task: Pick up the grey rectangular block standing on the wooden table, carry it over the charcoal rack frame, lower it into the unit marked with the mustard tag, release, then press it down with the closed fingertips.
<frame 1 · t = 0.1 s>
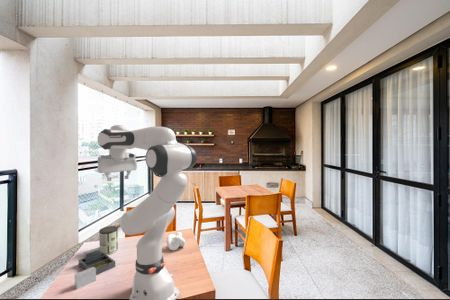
hand: (118, 179, 115), 48 cm above the table, fingers open, 8 cm apart
grey rectangular block: (85, 283, 101), on the table
white lumpy piece: (175, 247, 138), on the table
coffee can: (108, 251, 132), on the table
rack: (96, 266, 115), on the table
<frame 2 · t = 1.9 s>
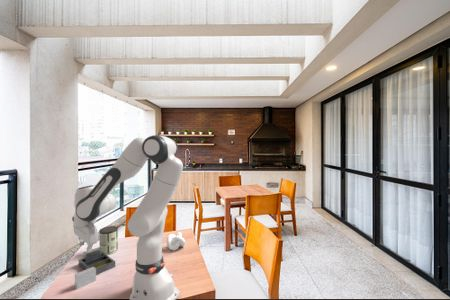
hand: (85, 247, 100), 17 cm above the table, fingers open, 8 cm apart
nothing on the table moved.
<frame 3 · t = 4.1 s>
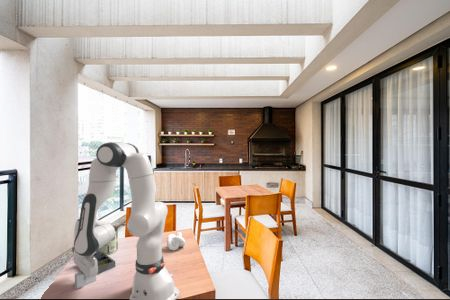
hand: (85, 278, 101), 2 cm above the table, fingers closed on grey rectangular block, 3 cm apart
grey rectangular block: (85, 283, 101), on the table, touching gripper
everything else where it was.
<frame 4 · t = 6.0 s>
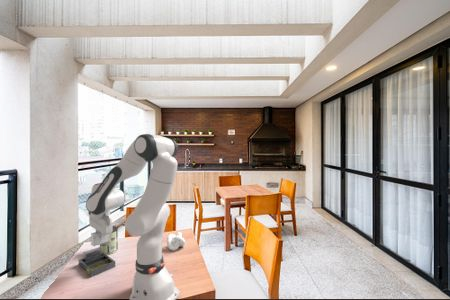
hand: (100, 238, 112), 17 cm above the table, fingers closed on grey rectangular block, 3 cm apart
grey rectangular block: (100, 242, 112), point 15 cm above the table, touching gripper
everything else where it was.
when the fingers open (5 cm above the table, at t = 8.2 s): grey rectangular block drops 1 cm, resting on rack.
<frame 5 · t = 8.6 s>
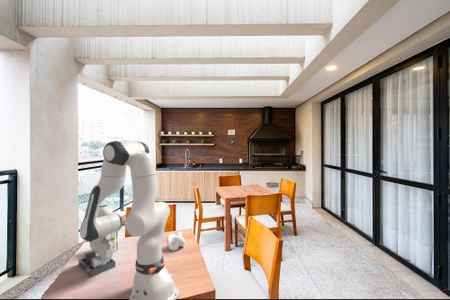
hand: (101, 261, 112), 5 cm above the table, fingers open, 6 cm apart
grey rectangular block: (101, 267, 112), point 1 cm above the table, touching rack
everything else where it was.
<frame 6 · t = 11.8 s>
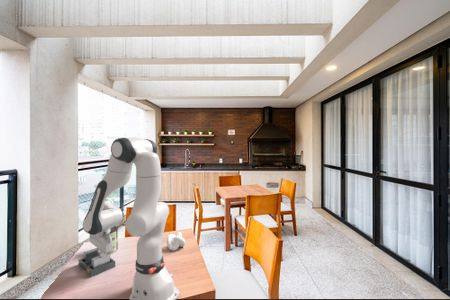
hand: (100, 255, 112), 8 cm above the table, fingers closed
nothing on the table moved.
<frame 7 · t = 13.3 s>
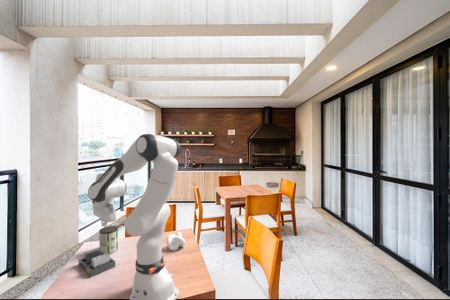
hand: (104, 226, 117), 22 cm above the table, fingers closed
nothing on the table moved.
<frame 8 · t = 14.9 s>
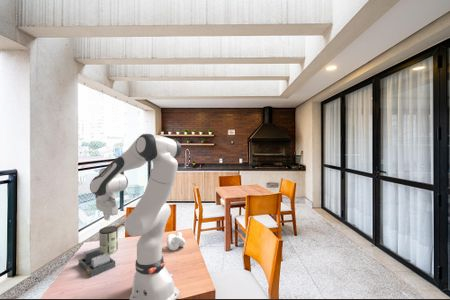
hand: (106, 219, 120), 24 cm above the table, fingers closed
nothing on the table moved.
at the end: grey rectangular block 0.1 cm from the target spot on the rack, point 1.1 cm above the rack's base; grey rectangular block tilted 0°; the gripper is holding nothing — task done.
